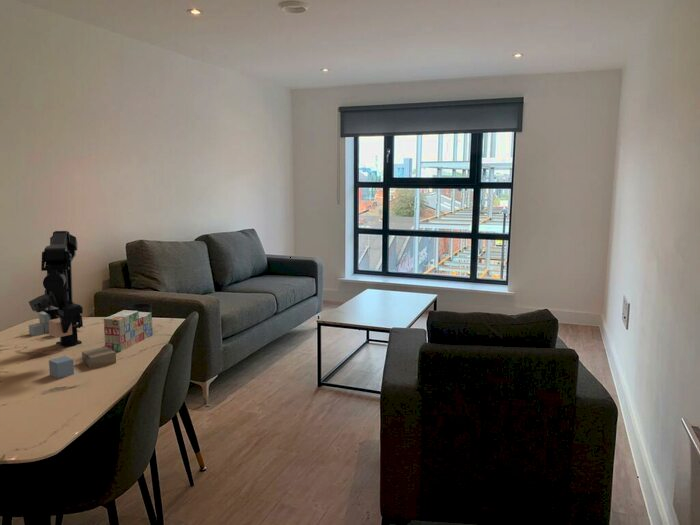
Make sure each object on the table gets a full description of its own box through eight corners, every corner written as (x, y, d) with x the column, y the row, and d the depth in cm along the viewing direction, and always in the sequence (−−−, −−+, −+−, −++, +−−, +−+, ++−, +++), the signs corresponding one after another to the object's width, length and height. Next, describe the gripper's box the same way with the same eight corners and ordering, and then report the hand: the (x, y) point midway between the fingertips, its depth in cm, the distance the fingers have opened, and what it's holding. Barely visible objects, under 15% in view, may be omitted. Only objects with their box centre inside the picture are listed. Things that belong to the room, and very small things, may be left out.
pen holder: (157, 328, 215) (156, 305, 213) (137, 334, 207) (136, 310, 205) (142, 324, 220) (141, 302, 218) (122, 330, 212) (121, 306, 210)
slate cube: (49, 375, 163) (48, 360, 163) (65, 370, 167) (64, 355, 167) (58, 378, 161) (56, 363, 160) (74, 374, 165) (73, 359, 164)
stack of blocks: (138, 333, 208) (137, 304, 206) (153, 335, 207) (152, 305, 205) (105, 350, 187) (103, 317, 185) (120, 352, 186) (119, 319, 184)
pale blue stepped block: (29, 334, 203) (27, 315, 202) (60, 327, 213) (58, 308, 212) (45, 340, 197) (43, 320, 195) (76, 333, 207) (75, 313, 205)
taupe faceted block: (82, 363, 175) (81, 351, 174) (106, 357, 181) (106, 346, 180) (91, 369, 170) (91, 357, 169) (116, 363, 176) (115, 352, 175)
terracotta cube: (49, 334, 171) (48, 320, 171) (64, 331, 175) (63, 317, 175) (57, 337, 169) (56, 323, 168) (72, 334, 173) (71, 319, 172)
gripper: (17, 285, 168) (21, 331, 170) (46, 293, 158) (49, 343, 160) (53, 280, 177) (56, 324, 180) (82, 288, 167) (85, 334, 169)
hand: (60, 331), depth 172 cm, fingers closed on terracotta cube, 5 cm apart
